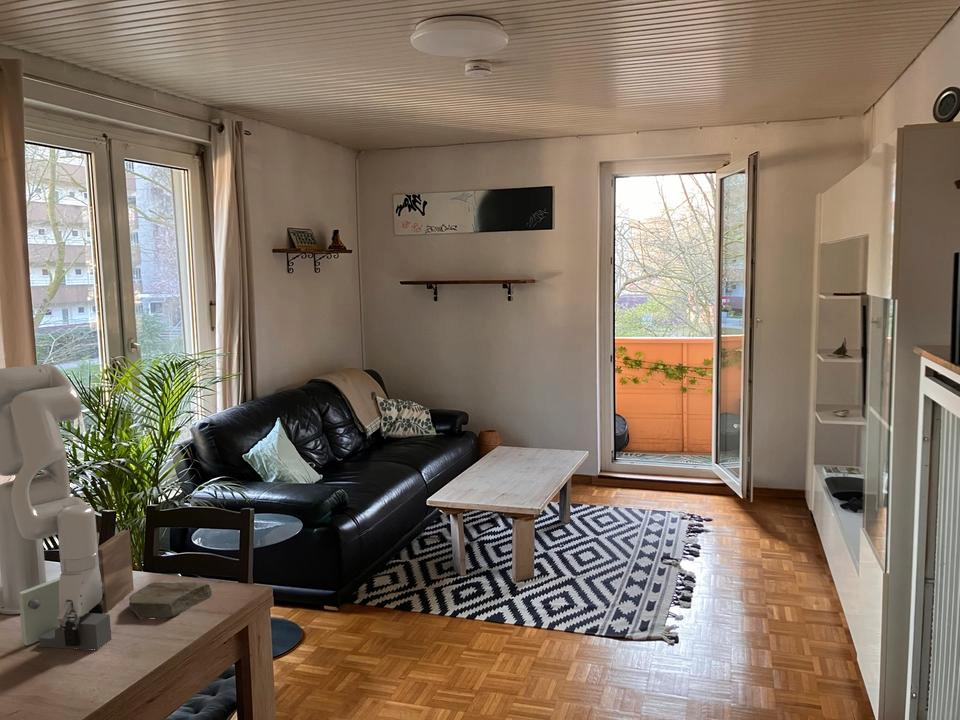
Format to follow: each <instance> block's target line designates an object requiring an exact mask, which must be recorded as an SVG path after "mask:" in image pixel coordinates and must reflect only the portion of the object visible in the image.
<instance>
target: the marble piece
mask: <svg viewBox="0 0 960 720" xmlns="http://www.w3.org/2000/svg"><path fill="white" fill-rule="evenodd" d="M212 594H213V593H212V588H211V585H210V584H209V583H208V582H202V581H201V582H196V581H194V582H191V581H189V582H187V581H186V582H185V581H183V582H160V581H157V582H152V583H149V584H147V585H146V586H143V587H141V588H140V589H138V590H137V591H136V592H134V593H132V594H131V595H130V596H129V603H128V605H129V609H130V611H132V612H134V613H135V614H136V617H137V618H138V619H149V618H155V619H154V620H163V619H165V620H168V619H170V618H173V617H176V616H178V615H181V614H182V612H183V613H184V612H185V611H188V610H189V609H190V608H192V607H194V606H195V605H196V606H197V605H198V604H200V603H202V602H204V601H206V600H207V599H210V597H211V596H212ZM187 609H188V610H187ZM180 613H181V614H180Z"/></svg>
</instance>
